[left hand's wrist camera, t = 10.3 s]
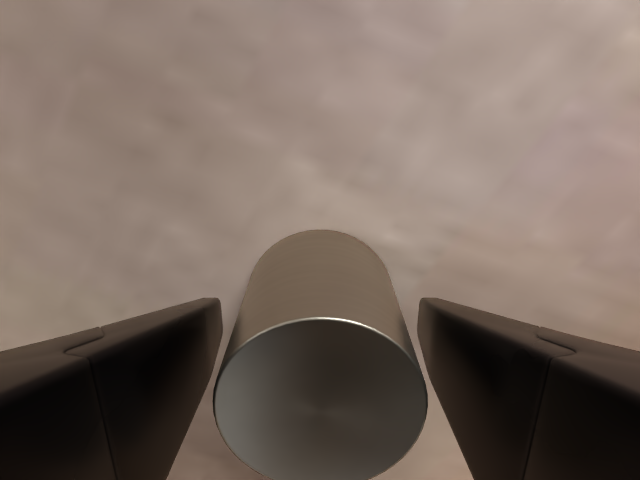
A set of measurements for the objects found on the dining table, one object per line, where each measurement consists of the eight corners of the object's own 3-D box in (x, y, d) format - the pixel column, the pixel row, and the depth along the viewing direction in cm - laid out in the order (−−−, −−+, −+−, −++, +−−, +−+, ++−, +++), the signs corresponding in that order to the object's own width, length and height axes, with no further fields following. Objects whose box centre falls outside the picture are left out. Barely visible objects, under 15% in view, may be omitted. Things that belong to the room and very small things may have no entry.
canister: (262, 214, 11) (229, 297, 7) (409, 246, 12) (458, 342, 8) (238, 341, 13) (199, 471, 9) (370, 367, 13) (393, 503, 9)
